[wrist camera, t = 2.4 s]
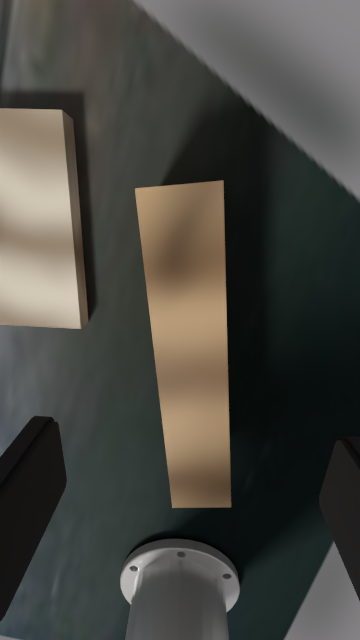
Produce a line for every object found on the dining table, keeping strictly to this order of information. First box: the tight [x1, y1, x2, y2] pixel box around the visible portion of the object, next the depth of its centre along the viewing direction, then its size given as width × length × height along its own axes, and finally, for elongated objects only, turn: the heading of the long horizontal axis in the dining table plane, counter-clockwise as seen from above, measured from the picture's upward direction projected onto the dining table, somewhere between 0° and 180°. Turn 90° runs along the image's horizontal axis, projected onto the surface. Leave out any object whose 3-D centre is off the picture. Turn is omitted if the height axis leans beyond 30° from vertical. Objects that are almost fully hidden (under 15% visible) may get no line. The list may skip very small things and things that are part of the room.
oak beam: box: [135, 180, 231, 508], centre depth 18 cm, size 20×4×6 cm, turn 4°
